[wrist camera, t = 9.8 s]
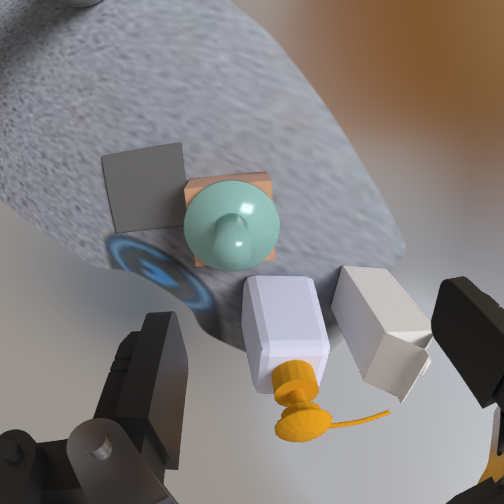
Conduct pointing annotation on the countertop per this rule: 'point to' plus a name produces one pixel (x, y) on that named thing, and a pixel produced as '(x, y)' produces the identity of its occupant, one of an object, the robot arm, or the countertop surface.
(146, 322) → the robot arm
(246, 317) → the soap bottle
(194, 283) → the countertop surface
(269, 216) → the lid
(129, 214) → the mat
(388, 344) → the milk carton
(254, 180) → the dish
